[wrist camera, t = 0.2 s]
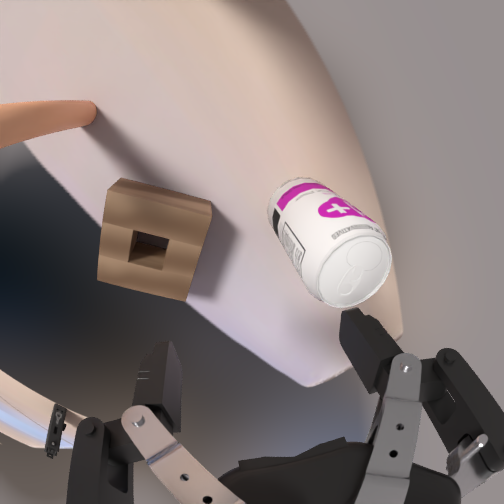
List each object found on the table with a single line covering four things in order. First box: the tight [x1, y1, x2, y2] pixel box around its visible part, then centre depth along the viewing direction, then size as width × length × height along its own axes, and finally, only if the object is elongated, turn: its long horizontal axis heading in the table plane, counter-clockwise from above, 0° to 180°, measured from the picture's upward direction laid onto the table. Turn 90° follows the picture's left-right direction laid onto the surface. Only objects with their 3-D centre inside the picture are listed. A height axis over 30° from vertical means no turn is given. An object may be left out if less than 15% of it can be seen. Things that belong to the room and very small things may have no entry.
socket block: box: [97, 178, 212, 301], centre depth 29 cm, size 11×11×5 cm
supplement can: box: [268, 177, 392, 308], centre depth 27 cm, size 8×8×15 cm
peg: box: [0, 100, 97, 149], centre depth 15 cm, size 3×3×18 cm
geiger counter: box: [44, 404, 67, 459], centre depth 43 cm, size 10×4×15 cm, turn 140°
